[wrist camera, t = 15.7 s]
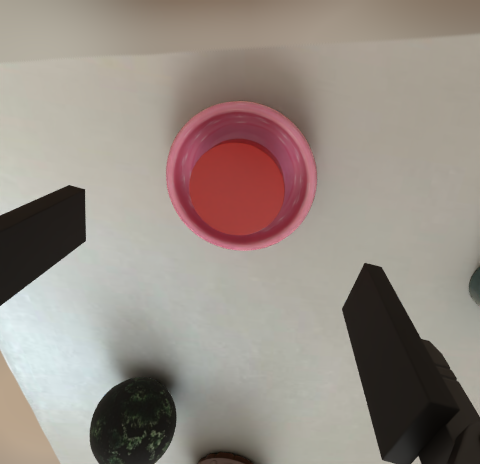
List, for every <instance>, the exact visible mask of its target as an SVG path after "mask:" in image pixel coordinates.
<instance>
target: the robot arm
mask: <svg viewBox="0 0 480 464" xmlns="http://www.w3.org/2000/svg"><path fill="white" fill-rule="evenodd" d="M85 241H86V223H85V189H81V188H78V187H74V186H70V185H68V186H66V187H64V188H62V189H59V190H57V191H55V192H53V193H50V194H48V195H46V196H43V197H41V198H39V199H37V200H34V201H32V202H30V203H28V204H25V205H23V206H21V207H19V208H16V209H14V210H12V211H10V212H7V213H5V214H3V215H0V306H1V305H2V304H3V303H5V302H6V301H7V300H9V299H10V298H11V297H13V296H14V295H15V294H17V293H18V292H19V291H21V290H22V289H23V288H24V287H26V286H27V285H28V284H30V283H31V282H32V281H34V280H35V279H36V278H38V277H39V276H40V275H42V274H43V273H44V272H46V271H47V270H48V269H49V268H51V267H52V266H53V265H55V264H56V263H57V262H59V261H60V260H61V259H63V258H64V257H65V256H67V255H68V254H69V253H71V252H72V251H73V250H74V249H76V248H77V247H78V246H80V245H81V244H82V243H84V242H85ZM342 311H343V315H344V318H345V322H346V326H347V330H348V333H349V337H350V341H351V345H352V348H353V352H354V356H355V360H356V364H357V367H358V371H359V375H360V379H361V382H362V386H363V390H364V394H365V397H366V401H367V405H368V409H369V412H370V416H371V420H372V424H373V428H374V431H375V435H376V439H377V443H378V446H379V450H380V454H381V458H382V460H384V461H388V462H391V463H395V464H411V463H412V462H413V461H414V460H415V459H416V458H417V457H418V456H419V458H420V461H421V464H480V417H479V415H478V413H477V412H476V410H475V408H474V407H473V405H472V403H471V402H470V400H469V398H468V397H467V395H466V393H465V392H464V390H463V388H462V387H461V385H460V383H459V382H458V381H456V379H457V378H456V377H455V375H454V373H453V372H452V370H450V367H449V365H448V363H447V362H446V360H445V358H444V357H443V355H442V354H441V353H440V352H439V350H438V349H437V348H436V347H435V346H434V345H433V344H432V343H431V342H430V341H427V340H423V339H421V338H420V336H419V334H418V332H417V331H416V329H415V327H414V325H413V323H412V321H411V320H410V318H409V316H408V314H407V312H406V311H405V309H404V307H403V305H402V303H401V302H400V300H399V298H398V296H397V294H396V292H395V291H394V289H393V287H392V285H391V283H390V282H389V280H388V278H387V276H386V274H385V273H384V271H383V269H382V267H379V266H375V265H371V264H367V263H365V264H364V266H363V268H362V270H361V272H360V274H359V276H358V278H357V280H356V282H355V284H354V286H353V288H352V290H351V292H350V294H349V296H348V298H347V300H346V302H345V304H344V306H343V308H342Z"/></svg>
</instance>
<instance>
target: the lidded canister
mask: <svg viewBox="0 0 480 464" xmlns="http://www.w3.org/2000/svg"><path fill="white" fill-rule="evenodd" d="M469 292H470V295H471V297H472V299H473V300H474V301H475V302H476V303H477V305H478V306H479V307H480V267H479V268H478V269H477V270H476V272H475V273H474V274H473V276H472V278H471V280H470V284H469Z"/></svg>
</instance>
